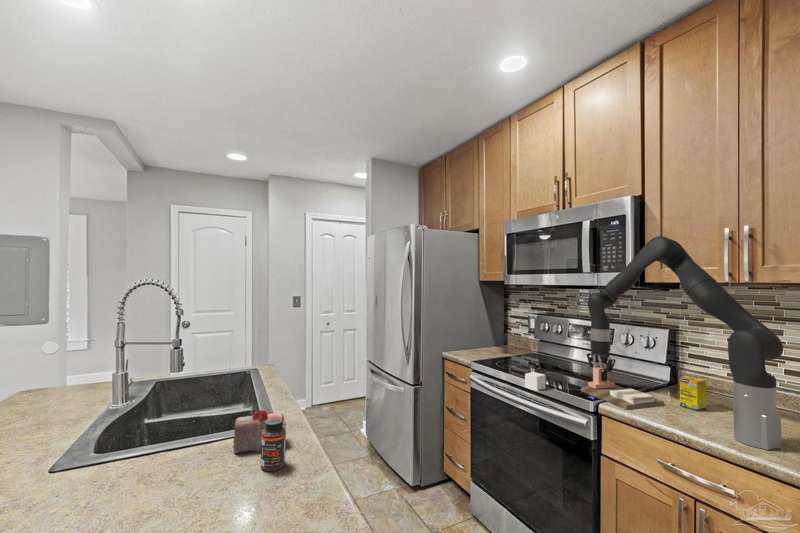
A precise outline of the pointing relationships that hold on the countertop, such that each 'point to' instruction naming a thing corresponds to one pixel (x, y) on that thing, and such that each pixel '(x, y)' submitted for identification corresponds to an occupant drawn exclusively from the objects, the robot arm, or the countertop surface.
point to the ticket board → (616, 400)
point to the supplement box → (693, 393)
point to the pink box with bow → (252, 430)
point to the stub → (599, 380)
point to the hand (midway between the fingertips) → (600, 379)
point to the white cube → (535, 381)
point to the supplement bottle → (273, 445)
